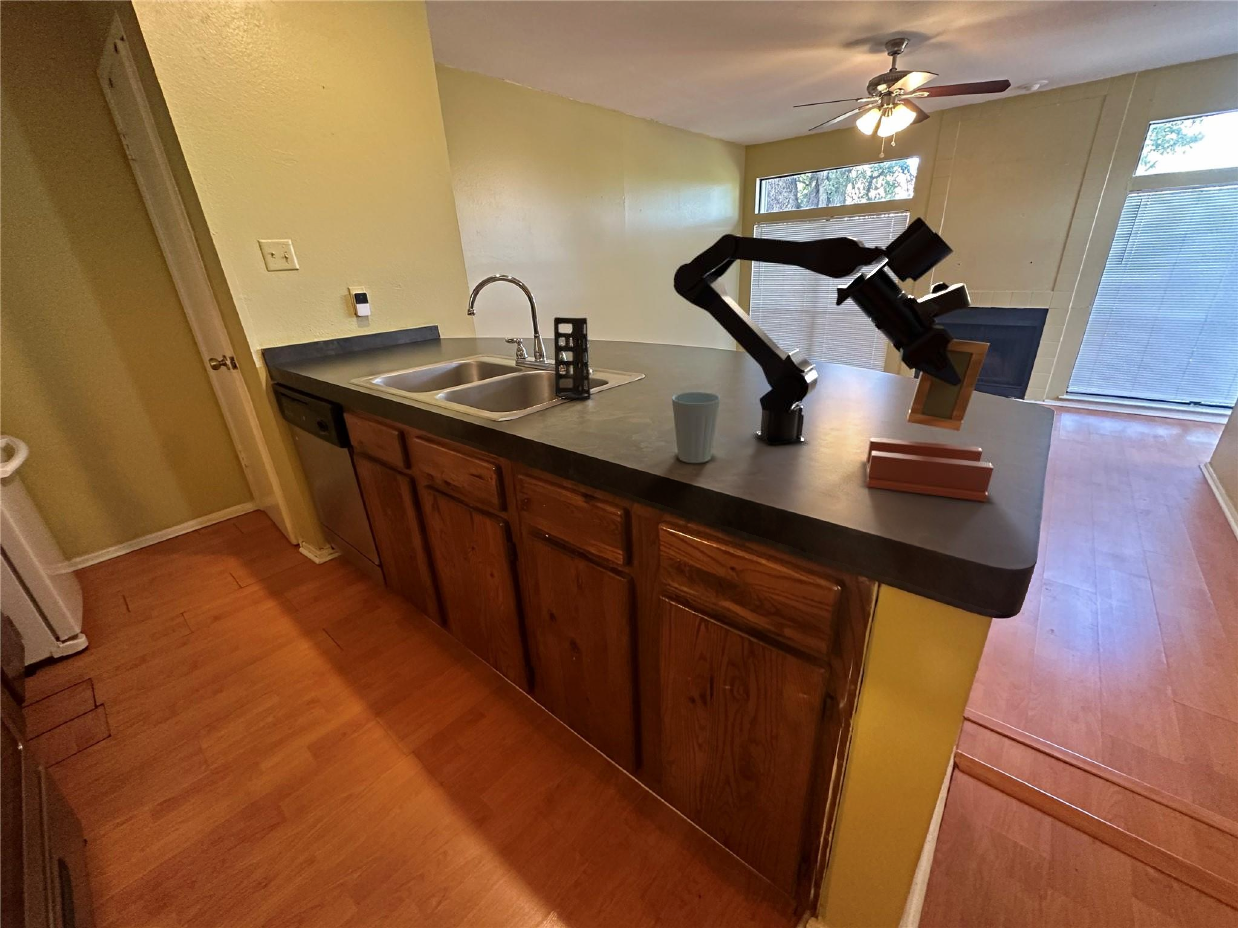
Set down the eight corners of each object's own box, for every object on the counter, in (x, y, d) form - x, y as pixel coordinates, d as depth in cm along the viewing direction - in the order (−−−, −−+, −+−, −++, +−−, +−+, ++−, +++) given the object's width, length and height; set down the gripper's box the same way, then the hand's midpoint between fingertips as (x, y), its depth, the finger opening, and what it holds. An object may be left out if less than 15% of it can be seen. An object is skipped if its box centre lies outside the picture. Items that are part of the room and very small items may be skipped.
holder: (547, 397, 123) (545, 317, 118) (561, 393, 130) (560, 317, 124) (585, 400, 119) (585, 317, 114) (598, 396, 126) (598, 318, 120)
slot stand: (867, 486, 68) (872, 457, 66) (865, 462, 76) (870, 435, 75) (986, 501, 62) (995, 470, 61) (970, 473, 71) (978, 445, 69)
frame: (907, 422, 75) (932, 337, 71) (906, 418, 78) (931, 337, 73) (959, 431, 72) (989, 343, 68) (956, 427, 75) (985, 342, 70)
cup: (726, 455, 81) (729, 395, 77) (701, 469, 76) (703, 406, 72) (689, 446, 86) (689, 389, 82) (663, 459, 81) (662, 399, 77)
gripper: (950, 262, 60) (1034, 354, 60) (928, 263, 76) (995, 335, 76) (870, 326, 66) (946, 410, 66) (865, 315, 82) (927, 382, 82)
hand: (955, 381), depth 72 cm, fingers closed on frame, 3 cm apart
